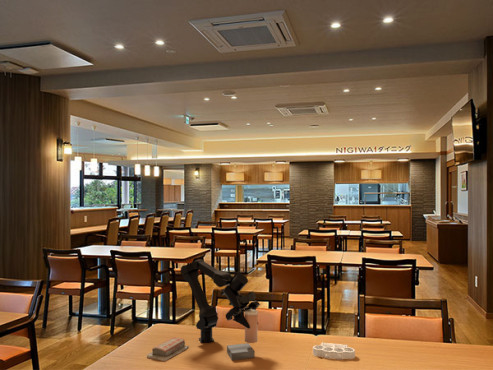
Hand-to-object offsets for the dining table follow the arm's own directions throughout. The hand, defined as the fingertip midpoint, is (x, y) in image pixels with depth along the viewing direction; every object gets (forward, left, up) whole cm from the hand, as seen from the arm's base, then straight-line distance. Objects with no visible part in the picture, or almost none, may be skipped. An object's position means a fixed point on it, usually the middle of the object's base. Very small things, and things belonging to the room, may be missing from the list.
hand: (253, 326), depth 191 cm
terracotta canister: (-1, -1, -7) cm, 7 cm away
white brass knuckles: (+9, +34, -13) cm, 38 cm away
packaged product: (-14, -36, -13) cm, 40 cm away
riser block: (-2, -6, -12) cm, 14 cm away
